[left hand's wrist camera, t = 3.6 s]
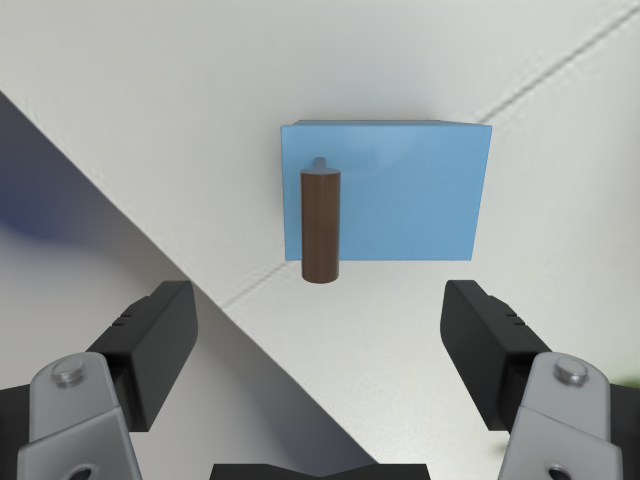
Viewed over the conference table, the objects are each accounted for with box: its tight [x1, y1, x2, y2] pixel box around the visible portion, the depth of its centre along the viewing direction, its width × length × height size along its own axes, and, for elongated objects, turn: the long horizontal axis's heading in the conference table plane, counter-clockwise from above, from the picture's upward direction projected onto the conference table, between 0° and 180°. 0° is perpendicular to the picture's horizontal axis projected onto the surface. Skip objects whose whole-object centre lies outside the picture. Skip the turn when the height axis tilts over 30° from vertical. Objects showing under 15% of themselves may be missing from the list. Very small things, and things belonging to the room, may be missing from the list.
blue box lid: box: [281, 125, 492, 284], centre depth 22 cm, size 14×10×9 cm
